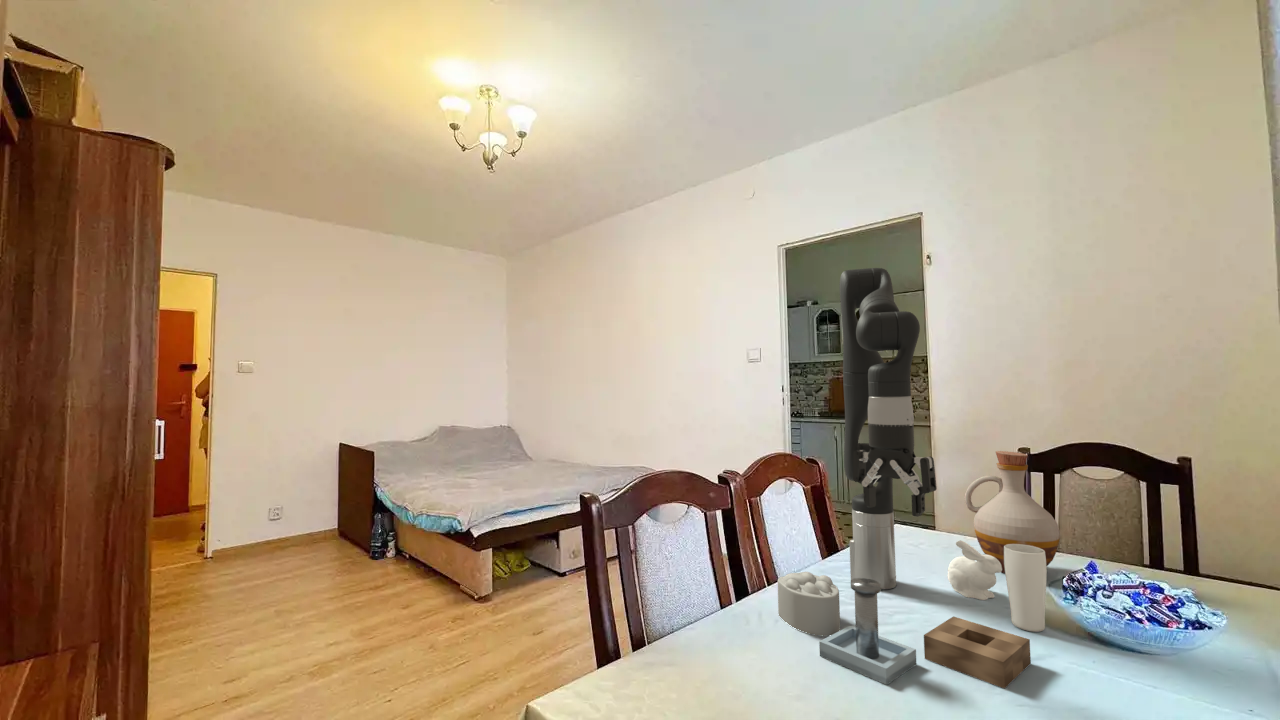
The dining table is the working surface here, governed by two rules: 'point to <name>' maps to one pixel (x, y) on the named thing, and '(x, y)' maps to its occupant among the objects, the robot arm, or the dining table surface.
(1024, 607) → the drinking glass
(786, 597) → the lumpy-topped squat cylinder
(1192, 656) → the dining table surface
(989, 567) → the rabbit
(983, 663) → the socket block
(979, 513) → the jug
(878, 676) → the tray
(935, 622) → the dining table surface
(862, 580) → the pin
